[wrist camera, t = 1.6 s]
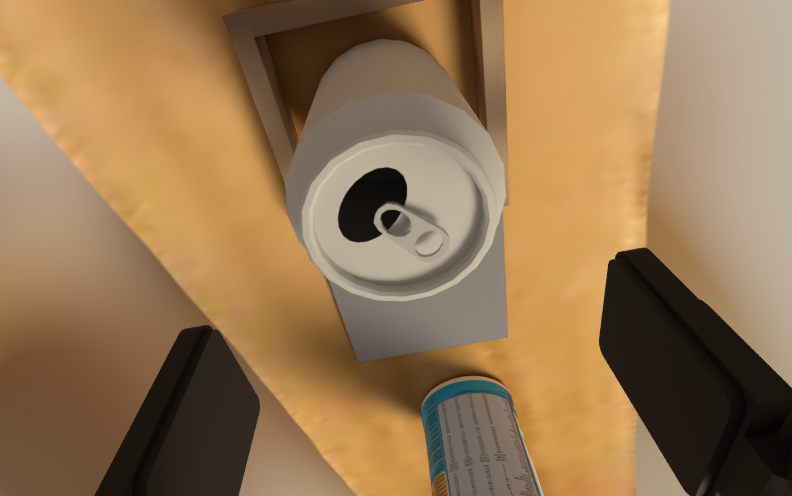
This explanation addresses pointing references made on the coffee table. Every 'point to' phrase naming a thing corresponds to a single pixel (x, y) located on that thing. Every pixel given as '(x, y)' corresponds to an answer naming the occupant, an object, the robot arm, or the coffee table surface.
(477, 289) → the mat
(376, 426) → the coffee table surface
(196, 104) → the coffee table surface
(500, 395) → the beverage bottle
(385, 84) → the can
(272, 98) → the wooden picture frame
